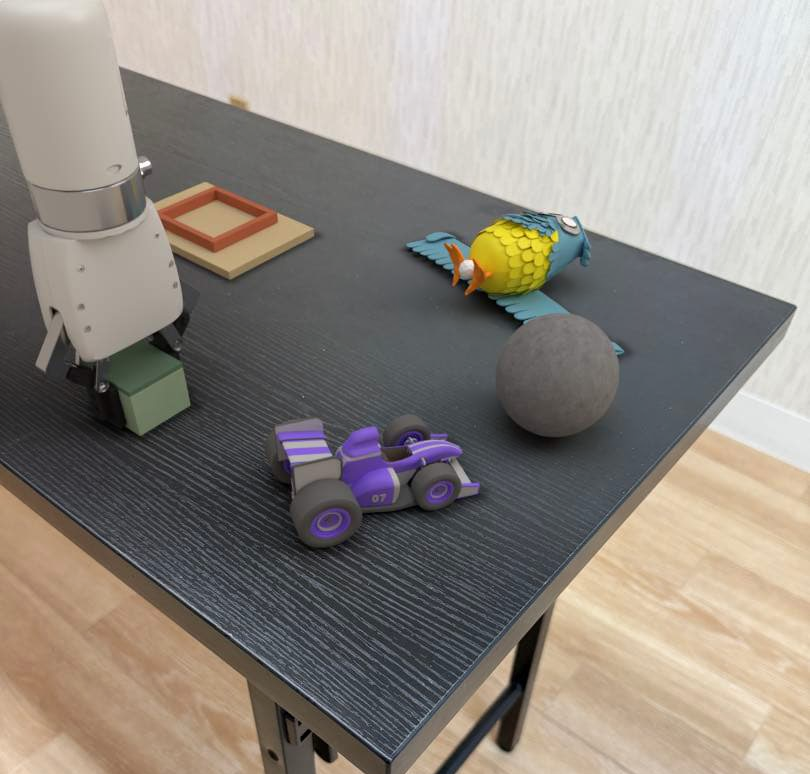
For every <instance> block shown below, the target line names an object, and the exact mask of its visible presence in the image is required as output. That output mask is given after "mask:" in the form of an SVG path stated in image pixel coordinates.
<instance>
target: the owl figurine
mask: <svg viewBox="0 0 810 774" xmlns="http://www.w3.org/2000/svg"><path fill="white" fill-rule="evenodd" d="M500 216H502V217H501V218H498V219H496V220H493V222H492V223H491V224H490V225H488V226H487V227H485V228H484V229H482V230H481V231H479V232H478V233H477V234H476V235H475V236H474V239H473V240H472V242H471V244H470V246H468V245H466V244H465V243H463V242H461V241H460V240H458V238H457V237H456V236H455V235H453V234H450V233H448V232H443V231H436V232H432V233H430V234H428V235H426V236H425V239H424V238H423V239H420V240H416V241H412V242H408V243H406V244H405V246H406V248H408V249H412V252H414V253H419V255H421V256H427V259H428V260H431V261H435V264H436V265H439V266H443V267H442V268H443V269H445V270H448V271H451V275H453V279H452V287H455V286H456V285H457V283H458V282H459V281H460V279H461V280H463V281H467V284H468V287H467V289H466V290H465V292H464V295H465V296H468V295H470V294H471V293H473V292H474V291H475V290H478V291H479V292H485V293H486V294H487V297H488V298H489V299H490V300H494V301H495V300H496V302H495V303H496V304H497V305H498V306H500V307H505V311H506V312H507V313H508V314H509V313H510V314H513V318H514V319H516V320H519V321H523V322H522V323H523V324H522V325H524V324H525V323H527V322H528V321H530V320H532V319H534V318H537V317H539V316H542V315H546V314H551V313H568V314H571V312H569V311H568V310H566V308H564V307H563V306H561V305H560V304H559V303H558V302H556V301H555V300H554V299H552V298H550V297H549V296H548V295H546V294H545V293H544V292H542V291H541V290H540V289H541V288H542V287H543V286H544V285H545V284H546V283H547V282H548V281H550V279H552V278H553V277H554V276H555V277H556V275H557V274H559V273H560V272H561V271H562V270H564V269H565V268H566V267H568V266H569V265H570V264H571V263H573V262H574V261H575V260H576V259H577V258H579V263H580V266H581V267H583V268H586V267H588V266H589V262H588V261H590V260H591V259H592V255H591V253H590V252H589V251H591V250H592V245H591V244H590V243H589V238H588V237H587V234H586V232H585V229H584V227H583V225H582V223H581V221H580V219H579V217H578V216H577V215H574V216H572V217H570V216H568V215H564V214H563V213H561V214H560V213H553V212H547V213H544V211H539V212H537V213H534V212H531V211H529V210H528V211H527V210H525V211H524V210H523V211H521V212H520V213H506V215H505V216H504V215H500ZM611 343H612V345H613V347H614V349H615V351H616V355H617V356H620V355H623V354H625V353H626V352H625V351H624V349H623V348H622V347H621V346H620V345H618V344H617V343H616V342H615V341H611Z"/></svg>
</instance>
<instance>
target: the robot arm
mask: <svg viewBox="0 0 810 774" xmlns="http://www.w3.org/2000/svg"><path fill="white" fill-rule="evenodd" d="M110 23H111V22H110V18H109V15H108V12H107V9H106V8H105V5H104V3H103V1H102V0H0V104H1V107H2V110H3V111H2V112H3V114H4V117H5V120H6V124H7V127H8V130H9V133H10V137H11V140H12V143H13V146H14V149H15V152H16V156H17V158H18V161H19V166H20V168H21V171H22V174H23V177H24V181H25V184H26V187H27V191H28V194H29V197H30V201H31V203H32V207H33V209H34V213H35V216H36V218H35V219H33V220H32V221H30V222H28V224H27V239H28V241H27V242H28V252H29V260H30V267H31V272H32V277H33V282H34V287H35V291H36V295H37V300H38V303H39V308H40V311H41V315H42V319H43V323H44V325H45V328H46V332H47V333H46V336H45V338H44V340H43V342H42V346H41V348H40V351H39V353H38V356H37V359H36V361H35V368H36V369H37V370H38V371H40V372H41V373H43V374H44V375H46V376H48V377H51V378H54V379H58V380H63V381H68V382H71V383H73V384H75V385H78V386H81V387H84V388H85V389H86V393H87V395H88V398H89V402H90V406H91V408H92V411H93V413H94V414H95V416H96V417H97V418H98V419H100V420H101V421H106V422H108V423H109V424H111V425H113V426H115V427H116V428H117V429H119V430H121V429H123V428H126V427H125V426H126V424H127V422H126V418H125V415H124V411H123V407H122V404H121V400H120V397H119V393H118V390H117V388H116V387H114V386H113V385H111V384H110V383H109V382H110V363H111V355H113V354H115V353H116V352H118V351H120V350H122V349H124V348H126V347H128V346H130V345H132V344H134V343H136V342H138V341H139V340H141V339H142V340H144V339H145V338H147V337H149V336H150V337H151V339H152V340H150V341H147V343H149V344H151V345H153V346H154V347H156V348H158V349H160V350H161V351H163V352H165V353H167V354H168V355H170V356H172V357H174V358H175V359H177V360H179V361H181V357H180V351H181V350H182V349H183V347H184V343H185V342H184V339H183V336H184V334H185V332H186V330H187V328H188V325H189V323H190V320H191V316H190V314H192V313H193V312H194V309H195V307H196V305H197V304H198V301H199V299H200V297H201V292H200V290H199V289H198V288H196V287H194V286H193V285H191V284H190V283H188V282H187V281H186V280H184V279H183V278H181V277H180V276H179V273H178V268H177V265H176V262H175V258H174V254H173V252H172V250H171V247H170V244H169V241H168V238H167V235H166V232H165V230H164V227H163V225H162V222H161V220H160V217H159V215H158V213H157V211H156V209H155V206H154V204H153V203H154V202H153V200H151V198H149V197H148V196H147V195H146V189H145V184H144V180H145V179H146V177H149V176H150V175H152V174H153V166H152V164H151V161H150V160H149V158H148V157H147V156H145V155H141V156H138V154H137V149H136V144H135V140H134V139H135V138H134V134H133V129H132V125H131V120H130V116H129V110H128V105H127V101H126V96H125V91H124V86H123V81H122V76H121V72H120V66H119V61H118V57H117V52H116V47H115V43H114V38H113V32H112V28H111V24H110ZM70 345H72V346H73V348H74V350H75V357H74V358H75V361H74V363H73V362H71V361H68V360H65V358H66V355H67V353H68V350H69V348H70ZM92 363H93V370H92Z"/></svg>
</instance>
